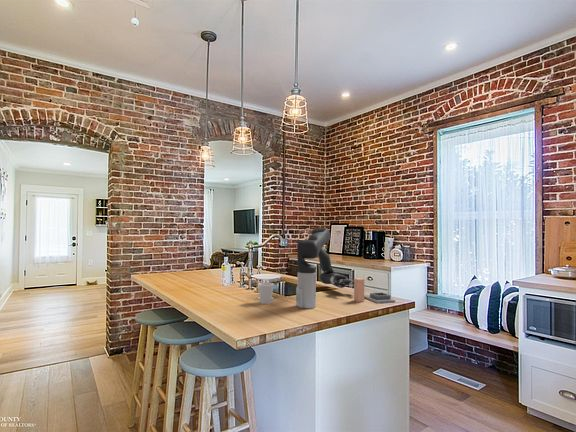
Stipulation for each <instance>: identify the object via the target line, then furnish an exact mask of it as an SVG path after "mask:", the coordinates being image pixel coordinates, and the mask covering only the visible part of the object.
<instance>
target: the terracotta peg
mask: <svg viewBox="0 0 576 432" xmlns="http://www.w3.org/2000/svg"><path fill="white" fill-rule="evenodd" d="M353 280H354V286H353V301H354V302H357V303H364V302H365V298H364V296H365V278H362V277H356V278H353Z"/></svg>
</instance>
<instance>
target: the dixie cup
mask: <svg viewBox="0 0 576 432" xmlns="http://www.w3.org/2000/svg"><path fill="white" fill-rule="evenodd" d="M257 285H258V292H259V293H258V294H259V301H260V304H261V305H270V304H271V303H272V300H273V299H272V297H273V291H274V286H275V285H274V282H269V281H267V282H264V281H263V282H259V283H257Z"/></svg>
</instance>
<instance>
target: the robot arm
mask: <svg viewBox="0 0 576 432" xmlns="http://www.w3.org/2000/svg"><path fill="white" fill-rule="evenodd" d="M330 240H331V232H330V230H329V229H328V228H327V227H321V228H317V227H316V228H313V229H312V231H311V235H310V236H309V237H308V239H306V240H305V239H301V240H300V239H299V240H298V242H297V245H296V254H297V255H296V257H297V258H296V259H297V260H296V261H297V286H296V288H295V306H296V307H297V308H299V309H314V308H316V305H317V297H316V296H317V294H316V293H317V292H316V291H317V289H316V287H317V268H316V265H313V264H310V263H309V262H307V261H306V259H307V260H308V259H309V260H310V259H312V260H313V259H317V258H318V261H319V265H320V269H321V271H322V272H321V274H320V275H319V280H320V281H321V283H322V284H324V285H332V286H334V287H337V288H339V289H343V288H345V287H347V286H348V287H354V279H348V278H347V277H346V276H345V275H342V274H339V273H336V272H335V270H334V269H333V266H332V262H331V258H330V255H329V254H328V253H327V252H326V251H325V249H324V248H323V247H324V246H325V244H327V243H329V241H330Z"/></svg>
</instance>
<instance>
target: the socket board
mask: <svg viewBox="0 0 576 432" xmlns="http://www.w3.org/2000/svg"><path fill="white" fill-rule="evenodd" d="M391 297H392V296H391V294H387V293H385V292H369V295H364V300H365V299H366V300H368V301H371V302H373V303H375V304H388V303H396V300H395V299H392V298H391Z"/></svg>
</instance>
